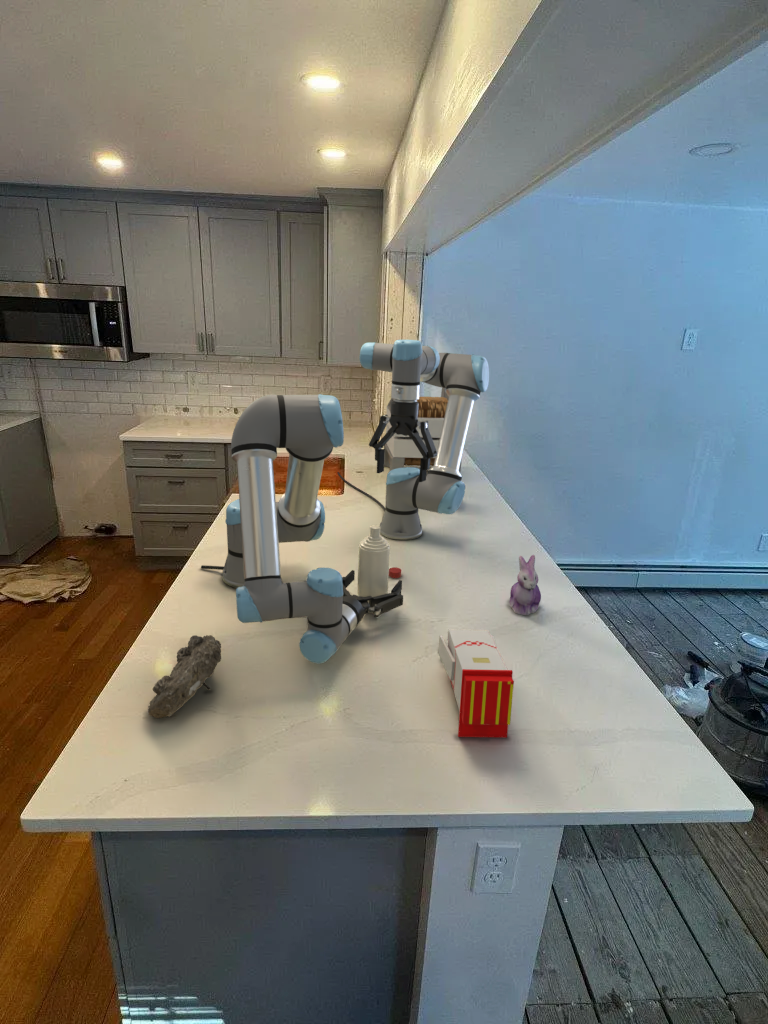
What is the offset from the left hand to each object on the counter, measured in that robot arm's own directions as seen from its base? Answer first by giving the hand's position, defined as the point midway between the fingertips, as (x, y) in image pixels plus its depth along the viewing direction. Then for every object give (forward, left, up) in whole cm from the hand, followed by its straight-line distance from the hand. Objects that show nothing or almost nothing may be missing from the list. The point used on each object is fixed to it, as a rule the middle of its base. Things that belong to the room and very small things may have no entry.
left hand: (376, 579), depth 151 cm
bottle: (0, -2, -7) cm, 7 cm away
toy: (+32, -28, -7) cm, 43 cm away
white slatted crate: (-28, +127, -7) cm, 130 cm away
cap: (-1, +17, -5) cm, 18 cm away
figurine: (+38, +14, -7) cm, 41 cm away
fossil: (-21, -50, -7) cm, 55 cm away
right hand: (-1, +18, +24) cm, 30 cm away
